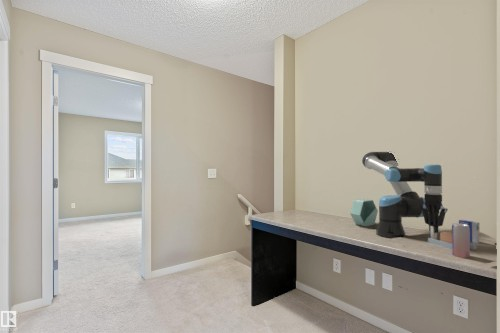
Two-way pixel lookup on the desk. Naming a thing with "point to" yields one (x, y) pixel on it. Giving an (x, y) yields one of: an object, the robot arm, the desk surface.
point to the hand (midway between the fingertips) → (433, 238)
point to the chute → (445, 244)
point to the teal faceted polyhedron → (364, 212)
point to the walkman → (472, 230)
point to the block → (446, 237)
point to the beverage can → (461, 240)
